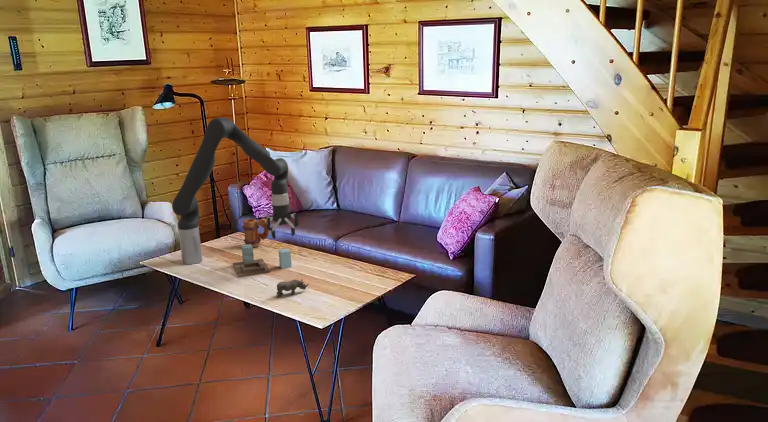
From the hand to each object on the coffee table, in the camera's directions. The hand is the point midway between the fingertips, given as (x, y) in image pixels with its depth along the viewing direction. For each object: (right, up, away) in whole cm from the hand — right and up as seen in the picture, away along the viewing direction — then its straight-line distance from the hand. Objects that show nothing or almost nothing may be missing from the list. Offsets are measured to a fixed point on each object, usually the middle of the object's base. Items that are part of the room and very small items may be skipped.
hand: (283, 237), depth 262 cm
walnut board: (-15, -15, +2) cm, 21 cm away
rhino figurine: (+9, -22, -28) cm, 37 cm away
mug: (-20, -7, +35) cm, 41 cm away
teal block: (0, -14, +4) cm, 15 cm away
